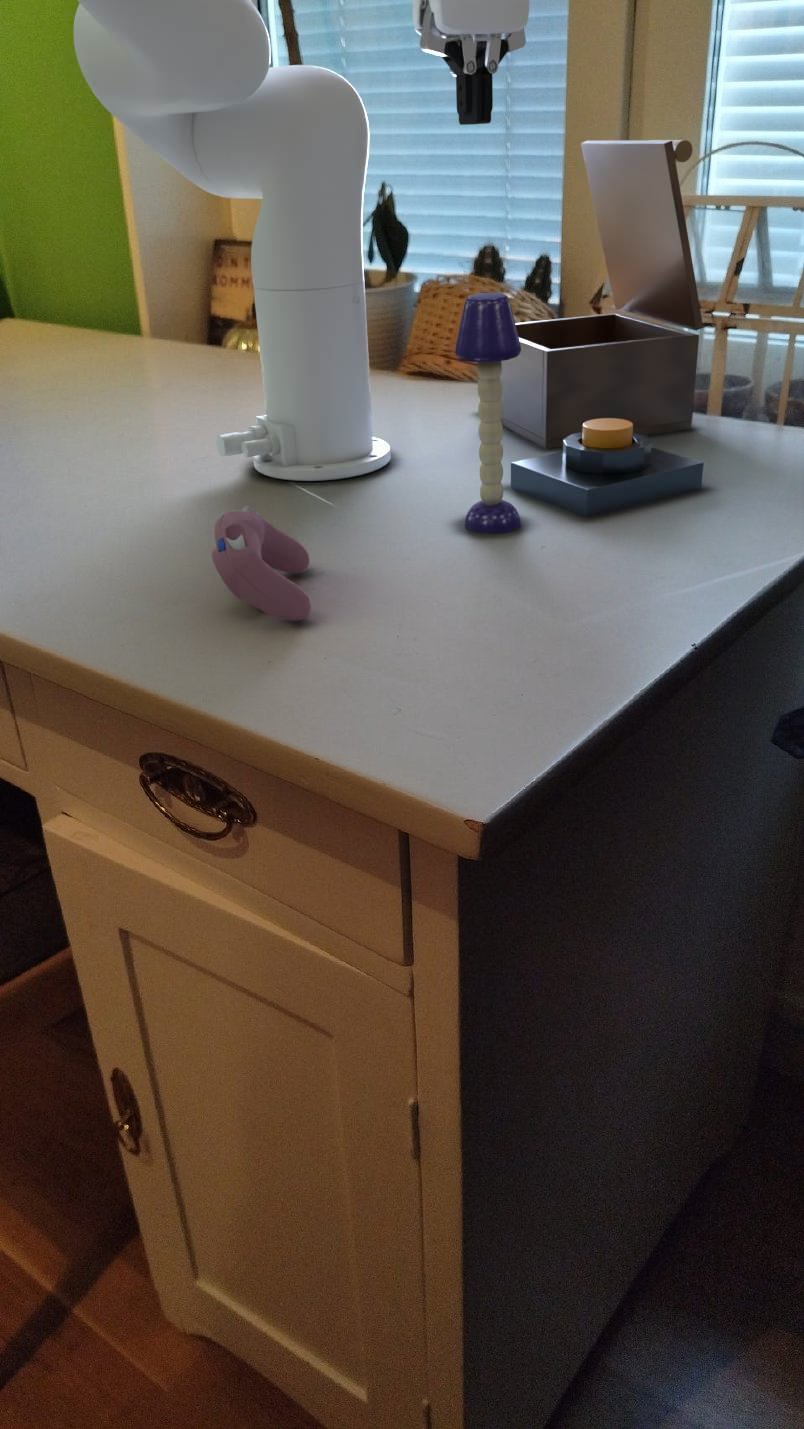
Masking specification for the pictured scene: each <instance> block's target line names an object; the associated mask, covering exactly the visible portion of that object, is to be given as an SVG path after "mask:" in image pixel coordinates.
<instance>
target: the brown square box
mask: <svg viewBox="0 0 804 1429" xmlns="http://www.w3.org/2000/svg"><path fill="white" fill-rule="evenodd" d="M515 324H516V328H517V332H518V336H519V340H520V345H521V352H520V354H519V355H518V356H517V357H515V358H512V359H509V360H505V361H501V362H502V372H501V375H500V377H499V378H500V380H501V383H502V395H501V397H500V401H501V403H502V407H503V412H502V417H501V419H500V421H501V423H502V426H503V427H504V428H507V429H509V430H510V431H512V432H514V433H516V434H518V435H520V436H522V437H523V438H524V439H527V440H529V441H531V442H533V443H535V444H536V445H538V446H540V447H542V448H543V449H553V448H559V447H563V440H564V439H565V438H567V437H568V436H570V435H571V434H575V433H580V432H582V430H583V423H584V422H586V421H589V420H593V419H600V418H616V419H624V420H627V421H630V422H632V423H633V432H635V433H639V434H642V435H646V436H649V435H656V434H663V433H671V432H676V431H677V432H678V431H685V430H686V431H687V430H691V429H692V427H693V416H694V415H693V414H694V402H695V392H696V391H695V390H696V379H697V366H698V356H699V341H700V334H698V333H694V332H692V331H687V330H683V329H680V328H676V327H672V326H669V325H665V324H662V323H657V322H654V321H650V320H647V319H643V318H639V317H635V316H631V315H627V314H625V313H620V312H612V313H602V314H592V315H584V316H583V315H582V316H573V317H572V316H571V317H564V318H563V317H561V318H554V319H543V320H533V321H524V322H515Z"/></svg>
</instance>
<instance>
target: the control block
mask: <svg viewBox="0 0 804 1429" xmlns="http://www.w3.org/2000/svg"><path fill="white" fill-rule="evenodd" d="M652 443H653V441H652V440H651V439H650V438H649V436H648V435H642V434H639V433H635V432H633V434H632V445H629V446H625V447H620V448H597V447H588V446H585V445H582V432H580V433H575V434H571V435H570V436H568V437H567V438H565V439H564V440H563V446H562V451H558V452H553V453H548V454H544V455H538V456H534V457H530V458H525V459H521V460H516V461H512V462H510V488H511V489H512V490H515V491H518V492H521V493H524V494H526V495H527V496H531V497H533V498H536V499H538V500H541V501H543V502H546V503H549V504H551V505H554V506H556V507H559V508H561V509H564V510H567V511H569V512H571V513H574V514H575V515H579V516H582V517H584V518H591V517H595V516H599V515H602V514H603V515H604V514H606V513H610V512H615V511H618V510H622V509H623V510H624V509H626V508H630V507H636V506H638V505H642V504H646V503H651V502H655V501H658V500H662V499H667V498H670V497H674V496H678V495H682V494H686V493H690V492H694V491H698V490H701V489H702V486H703V476H704V464H705V463H704V462H702V461H699V460H695V459H692V458H689V457H685V456H682V455H680V454H679V455H678V454H675V453H672V452H668V451H665V450H662V449H658V448H655V447H653V446H652V445H653V444H652Z"/></svg>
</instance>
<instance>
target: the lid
mask: <svg viewBox="0 0 804 1429" xmlns="http://www.w3.org/2000/svg"><path fill="white" fill-rule="evenodd" d="M580 146H581V151H582V156H583V160H584V164H585V169H586V170H585V171H586V174H587V175H586V176H587V180H588V184H589V189H590V194H591V199H592V204H593V208H594V212H595V218H596V223H597V228H598V231H599V232H598V233H599V238H600V241H601V247H602V251H603V256H604V261H605V265H606V270H607V275H608V280H609V285H610V291H611V293H612V294H611V295H612V300H613V305H614V309H615V311H620V312H624V313H628V314H632V315H636V316H640V317H643V318H647V319H651V320H653V321H658V322H662V323H665V324H669V325H673V326H677V327H680V328H684V329H688V330H691V331H696V332H697V331H699V330H701V329H703V328H704V324H703V318H702V312H701V305H700V299H699V293H698V287H697V281H696V275H695V269H694V264H693V257H692V252H691V245H690V238H689V234H688V228H687V221H686V215H685V209H684V204H683V198H682V192H681V185H680V180H679V179H680V178H679V173H678V168H677V167H678V166H677V163H686V162H687V161H689V160H690V159H691V157H692V155H693V150H694V149H693V145H692V143H691V142H690V141H689V140H687V139H649V140H585V141H583V142H581V143H580Z"/></svg>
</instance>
